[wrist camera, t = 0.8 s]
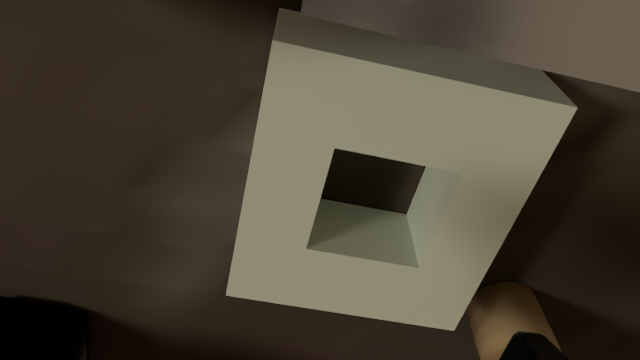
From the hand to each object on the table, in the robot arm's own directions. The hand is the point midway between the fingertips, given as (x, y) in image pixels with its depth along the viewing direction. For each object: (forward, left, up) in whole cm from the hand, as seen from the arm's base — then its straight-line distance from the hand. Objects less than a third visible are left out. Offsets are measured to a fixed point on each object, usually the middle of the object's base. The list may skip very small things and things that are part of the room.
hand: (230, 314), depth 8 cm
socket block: (-5, -5, -13) cm, 15 cm away
